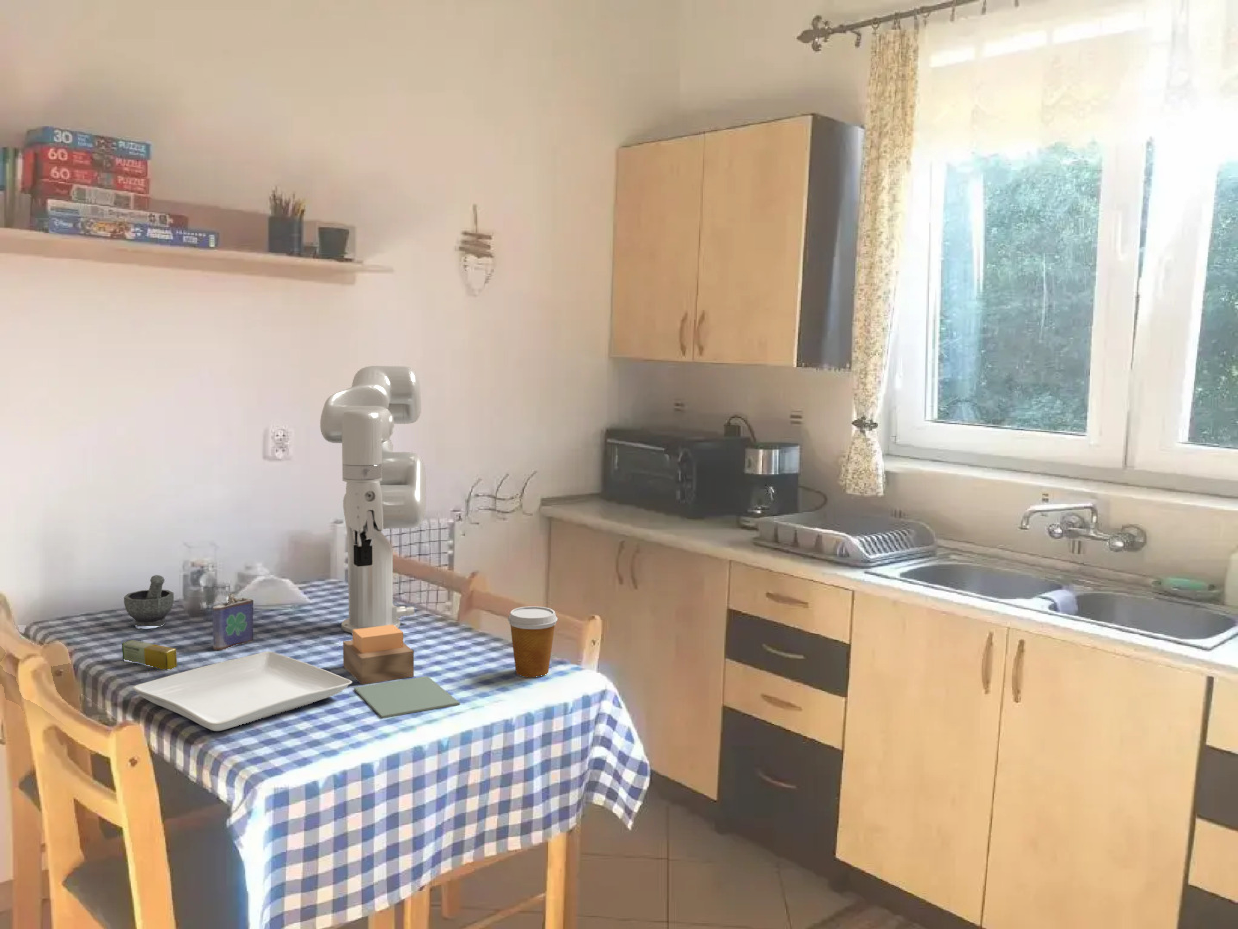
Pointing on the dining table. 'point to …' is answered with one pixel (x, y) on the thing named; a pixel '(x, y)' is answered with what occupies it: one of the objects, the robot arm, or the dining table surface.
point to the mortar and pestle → (150, 604)
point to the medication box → (149, 654)
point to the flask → (232, 622)
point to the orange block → (377, 638)
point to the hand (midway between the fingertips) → (363, 564)
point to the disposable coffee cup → (532, 639)
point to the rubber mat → (405, 696)
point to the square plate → (242, 689)
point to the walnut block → (378, 663)
